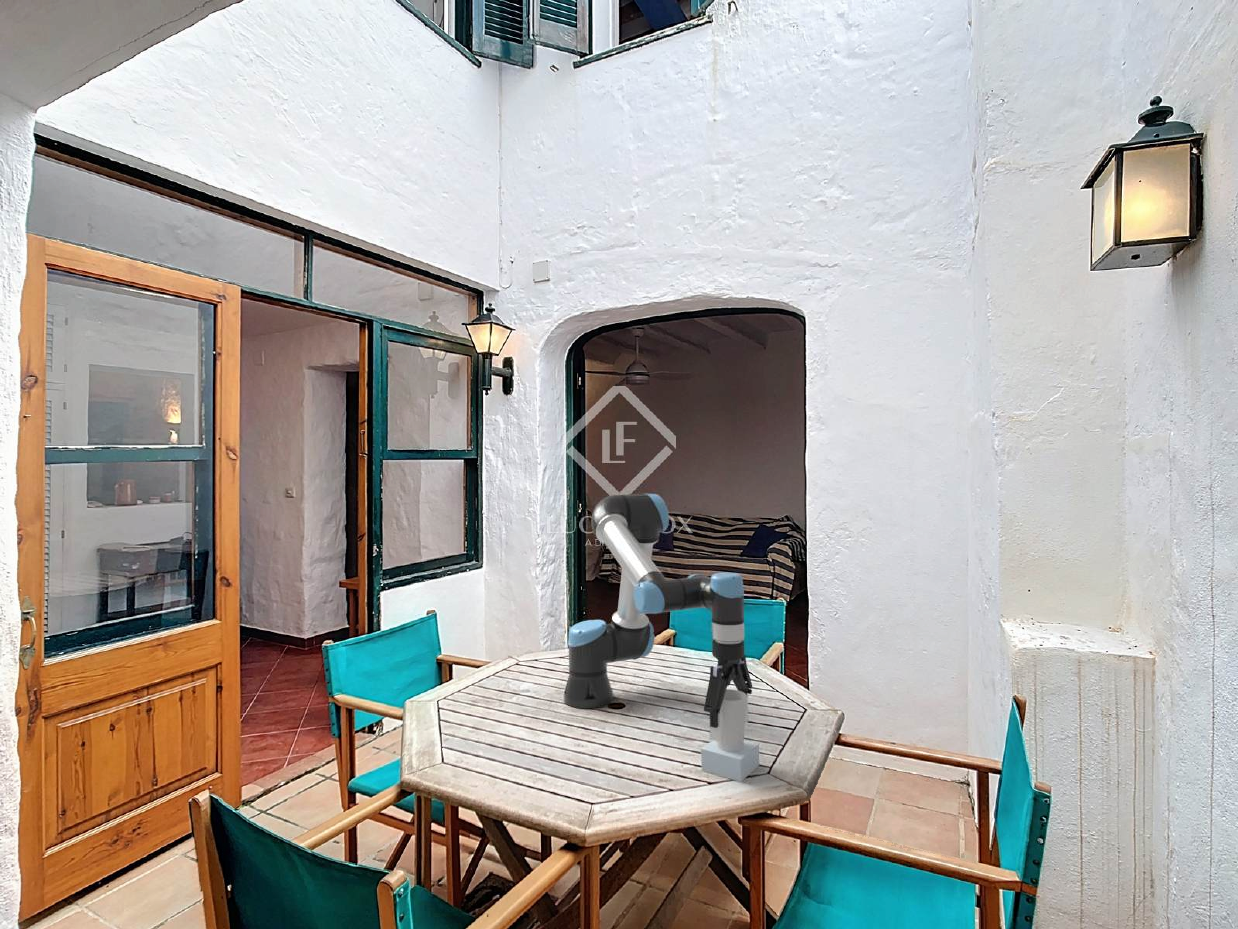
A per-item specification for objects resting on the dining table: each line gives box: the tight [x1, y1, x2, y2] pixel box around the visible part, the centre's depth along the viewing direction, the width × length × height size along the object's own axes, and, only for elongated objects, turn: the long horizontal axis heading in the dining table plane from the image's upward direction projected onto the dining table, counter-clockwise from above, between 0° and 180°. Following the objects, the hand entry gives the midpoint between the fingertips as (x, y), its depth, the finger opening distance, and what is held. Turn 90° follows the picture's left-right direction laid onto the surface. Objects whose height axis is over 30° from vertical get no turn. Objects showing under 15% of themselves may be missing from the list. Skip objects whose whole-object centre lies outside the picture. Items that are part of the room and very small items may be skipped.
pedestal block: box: [700, 739, 760, 783], centre depth 150 cm, size 10×10×5 cm
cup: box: [716, 688, 746, 752], centre depth 150 cm, size 8×8×12 cm
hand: (729, 730), depth 150 cm, fingers open, 13 cm apart
